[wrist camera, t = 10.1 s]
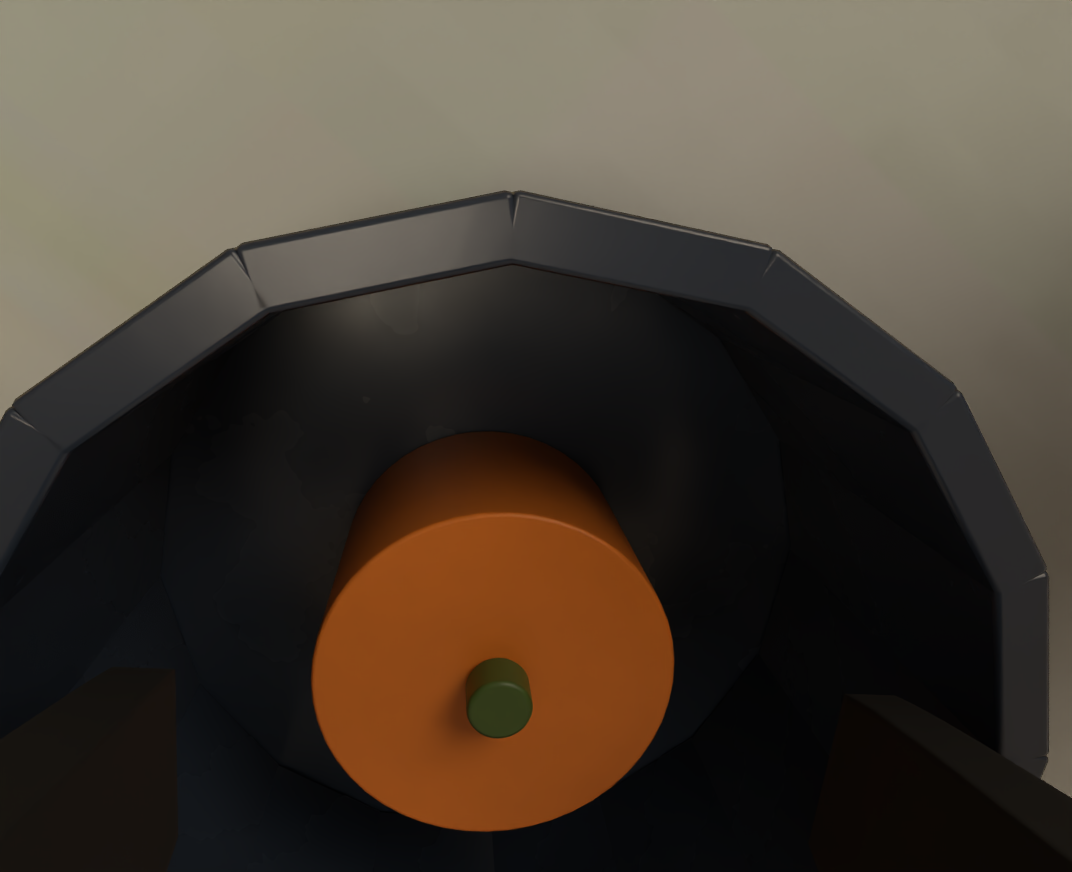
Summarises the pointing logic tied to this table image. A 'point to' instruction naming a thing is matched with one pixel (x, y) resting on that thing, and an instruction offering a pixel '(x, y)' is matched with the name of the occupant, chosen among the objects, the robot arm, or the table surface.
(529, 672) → the squash
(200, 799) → the pot
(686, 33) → the table surface
